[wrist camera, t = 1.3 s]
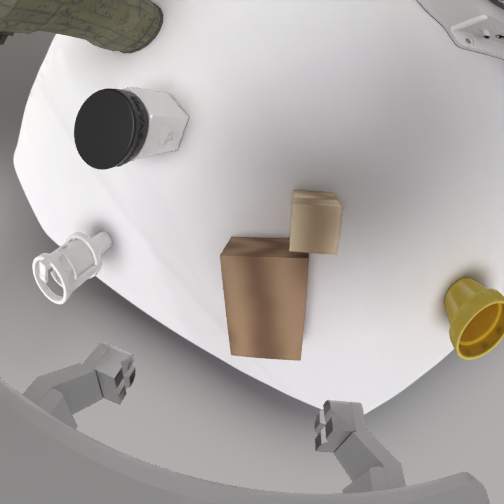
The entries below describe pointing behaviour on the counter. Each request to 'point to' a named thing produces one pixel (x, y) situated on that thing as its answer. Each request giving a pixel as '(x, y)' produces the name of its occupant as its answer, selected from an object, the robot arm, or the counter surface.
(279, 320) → the walnut block
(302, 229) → the oak block
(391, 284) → the counter surface
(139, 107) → the jar
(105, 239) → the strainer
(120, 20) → the thermos
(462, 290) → the plant pot
